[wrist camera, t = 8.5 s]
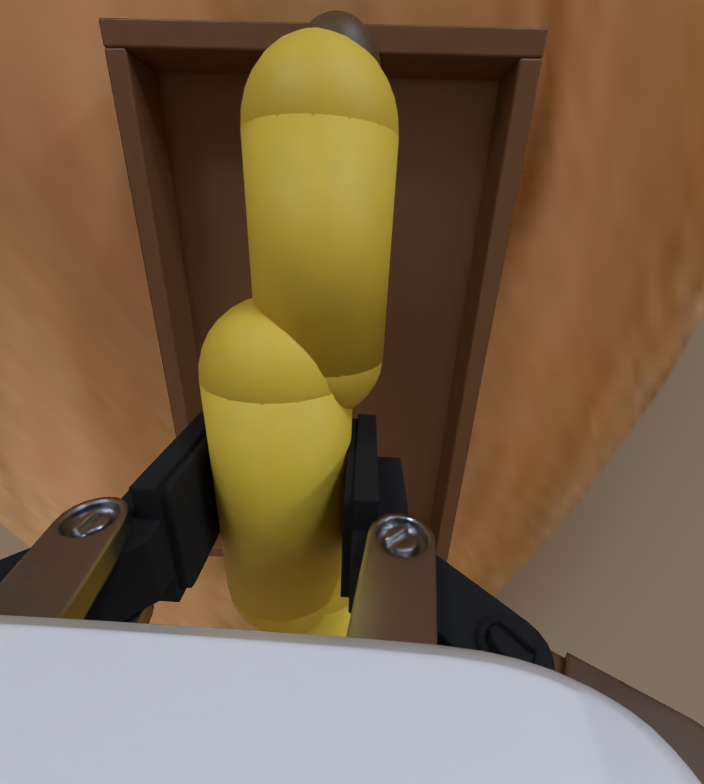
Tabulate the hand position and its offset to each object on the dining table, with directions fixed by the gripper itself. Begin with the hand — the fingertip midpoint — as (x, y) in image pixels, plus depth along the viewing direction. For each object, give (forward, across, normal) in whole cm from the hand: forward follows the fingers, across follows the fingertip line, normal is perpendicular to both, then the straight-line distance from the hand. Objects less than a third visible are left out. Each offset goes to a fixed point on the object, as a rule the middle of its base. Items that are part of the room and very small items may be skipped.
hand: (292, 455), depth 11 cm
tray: (+10, 0, 0) cm, 10 cm away
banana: (+1, 0, 0) cm, 1 cm away
